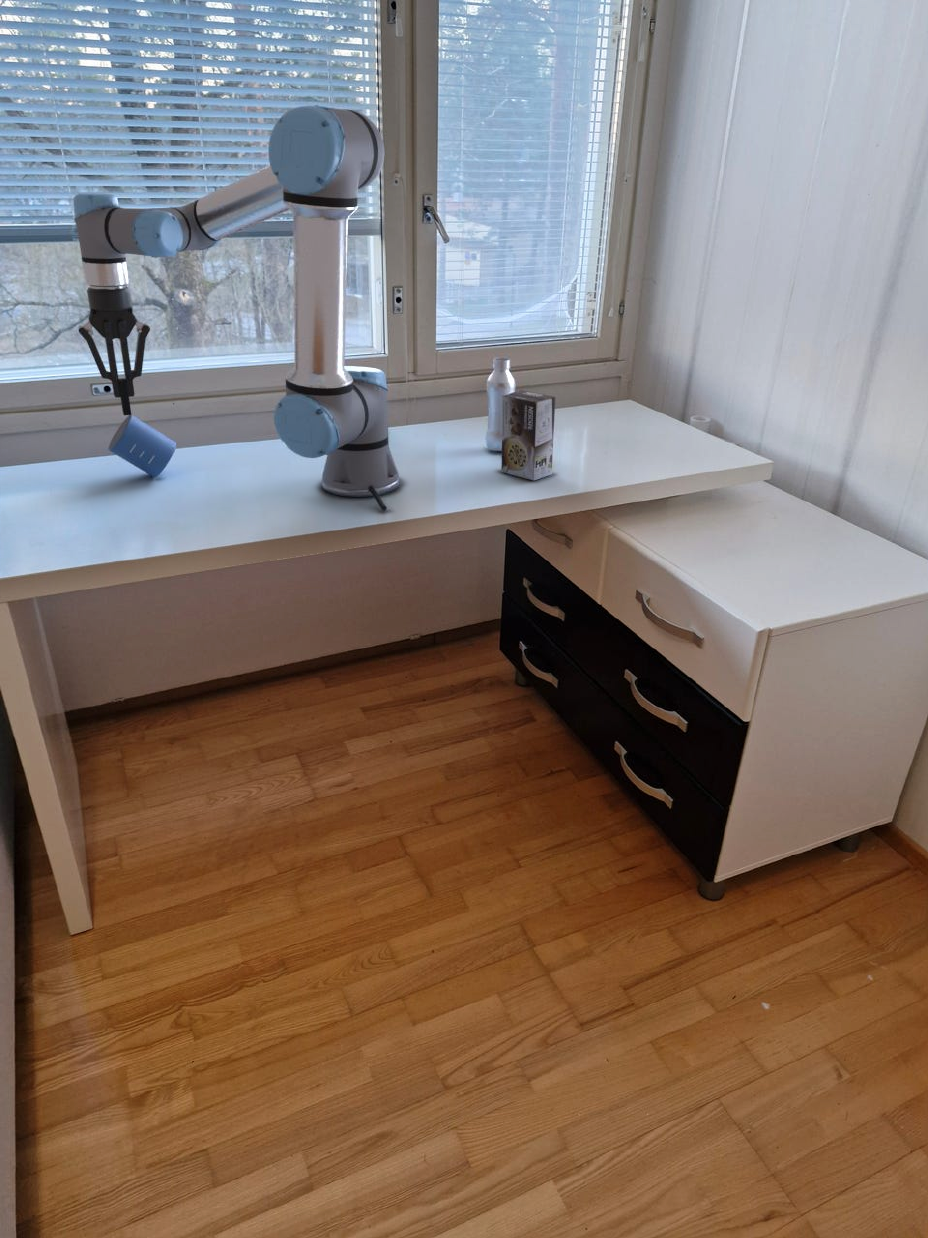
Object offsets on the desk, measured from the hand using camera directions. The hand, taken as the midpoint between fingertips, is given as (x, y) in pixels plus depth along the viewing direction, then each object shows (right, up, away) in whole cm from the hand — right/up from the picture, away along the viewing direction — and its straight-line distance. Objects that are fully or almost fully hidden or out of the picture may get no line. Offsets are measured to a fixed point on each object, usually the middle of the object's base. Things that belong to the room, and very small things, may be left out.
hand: (127, 413), depth 171 cm
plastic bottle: (+75, -3, +24) cm, 78 cm away
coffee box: (+79, -10, +10) cm, 81 cm away
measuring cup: (-1, -9, +4) cm, 10 cm away
